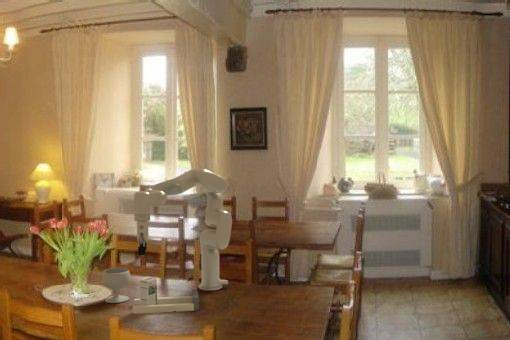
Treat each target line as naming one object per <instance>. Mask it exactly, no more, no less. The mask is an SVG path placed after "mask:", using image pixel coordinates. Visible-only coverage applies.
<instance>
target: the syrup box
mask: <svg viewBox="0 0 510 340" xmlns="http://www.w3.org/2000/svg"><path fill="white" fill-rule="evenodd" d="M157 286H158V285H157V278H156V277H153V276H148V277H144V278H140V279H139V299H140V306H145V305H157V298H158V292H157V291H158V288H157Z"/></svg>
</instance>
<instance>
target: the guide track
mask: <svg viewBox="0 0 510 340" xmlns="http://www.w3.org/2000/svg"><path fill="white" fill-rule="evenodd" d="M191 293H192V294H191V295H190V296H187V295H184V296H168V297H165V296H164V297H157V305H145V306H140V298H134V299H133V306H132V314H137V315H138V314H152V313H153V314H154V313H155V314H156V313H171V312H172V313H173V311H176V312H189V311H199V310H200V296H199V293H198V289H192V291H191Z"/></svg>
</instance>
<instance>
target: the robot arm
mask: <svg viewBox="0 0 510 340" xmlns="http://www.w3.org/2000/svg"><path fill="white" fill-rule="evenodd" d="M196 186H200V188H201V189H202V190H203V192H204V194H205V195H206V198H207V202H206V208H205V216H204V217H205V218H204V222H205V224H206V226H208V227H212V228H216V229H212V228H206V229H203V230H202V231H201V232H200V235H199V245H200V253H201V258H200V259H201V260H200V261H201V265H200V266H201V283H200V284H199V285H198V289H199V290H202V291H207V292H208V291H209V292H210V291H218V290H221V289H222V288H223V285H228V284H229V280H226V279H221V278H220V252H219V250H220V251H221V250H225V249H226V248H227V247H228V245H229V243H230V241H231V234H232V233H231V232H232V226H233V217H232V214H231V213H230V212H228V211H226V210H224V209H223V207H224V197H223V193H225V192H226V191H227V189H228V182H227V180H226V178H224V176H221V175H218V174H217V173H214V172H212V171H210V170H208V169H205V168H204V169H203V168H192V169H189V170H188V171H185V172H184V173H182V174H180V175H178V176H176V177H174V178H171V179H168V180H165V181H161V182H159V183H156V184H154V185H151V186H149V187H148V188H146V189H145V190H144V191H143V190H142V191H136V192H135V193H134V194H133V210H134V211H133V218H134V219H133V220H134V222H136V241H137V242H138V247H137V249H138V251H137V255H138V256H145V255H146V251H147V242H148V241H149V238H150V237H149V236H150V234H149V222H150V221H151V207H161V206H163V205H165V204H166V203H167V199H168V196H174V195H175V196H177V195H181V194H183V193H185V192H187V191H189V190H190V189H192V188H194V187H196Z"/></svg>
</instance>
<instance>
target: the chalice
mask: <svg viewBox="0 0 510 340" xmlns="http://www.w3.org/2000/svg"><path fill="white" fill-rule="evenodd" d="M131 278H132V277H131V273H130V270H129V269H128V268H126V267H110V268H107V269H105V270H104V271H103V272H102V277H101V283H102V284H103V286H105V287H107V288H108V289H111V290H112V291H113V292H114V295H111V296H110V295H109V296H108V297H109V298H107V297H106V298H107V299H106V300H105V301H104V302H105V303H108V304H119V303H125V302H128V301H129V300H130V297H129V296H127V295H123V294H122V295H120V294H119V292H120V291H121V290H122V289H123V288H124V287H126V286H128V284H130V282H131Z"/></svg>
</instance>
